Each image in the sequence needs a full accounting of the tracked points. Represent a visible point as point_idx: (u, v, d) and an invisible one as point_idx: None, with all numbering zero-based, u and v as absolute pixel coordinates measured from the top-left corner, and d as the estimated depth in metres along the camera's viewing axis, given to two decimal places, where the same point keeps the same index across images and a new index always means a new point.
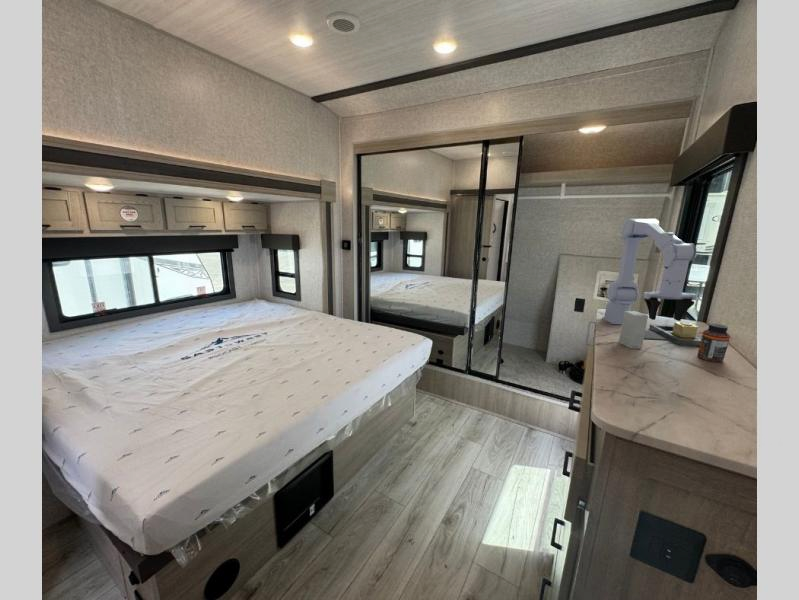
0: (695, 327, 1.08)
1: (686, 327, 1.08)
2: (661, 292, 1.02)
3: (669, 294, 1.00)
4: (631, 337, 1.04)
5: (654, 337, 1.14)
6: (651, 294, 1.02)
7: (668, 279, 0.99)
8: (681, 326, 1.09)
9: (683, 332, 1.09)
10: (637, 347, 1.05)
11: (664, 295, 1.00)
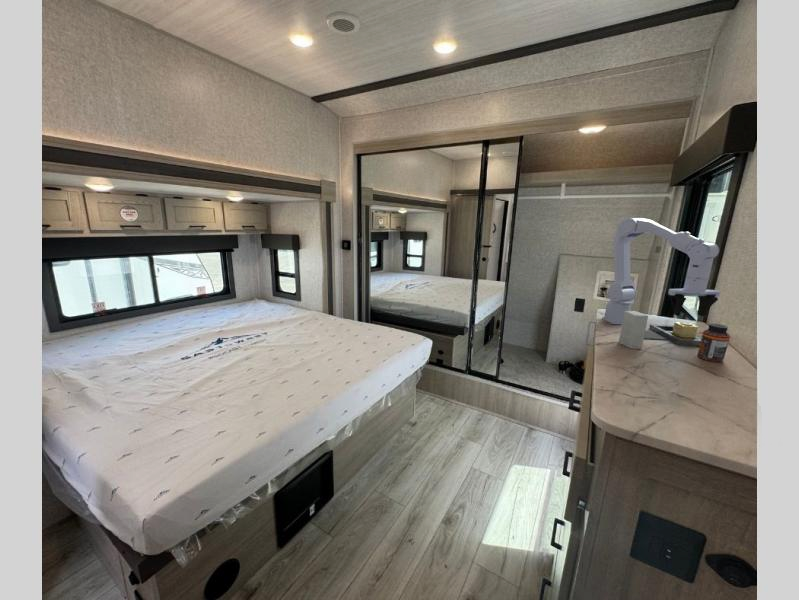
0: (695, 327, 1.08)
1: (686, 327, 1.08)
2: (686, 289, 1.07)
3: (694, 291, 1.05)
4: (631, 337, 1.04)
5: (654, 337, 1.14)
6: (676, 291, 1.07)
7: (699, 277, 1.03)
8: (681, 326, 1.09)
9: (683, 332, 1.09)
10: (637, 347, 1.05)
11: (689, 292, 1.05)
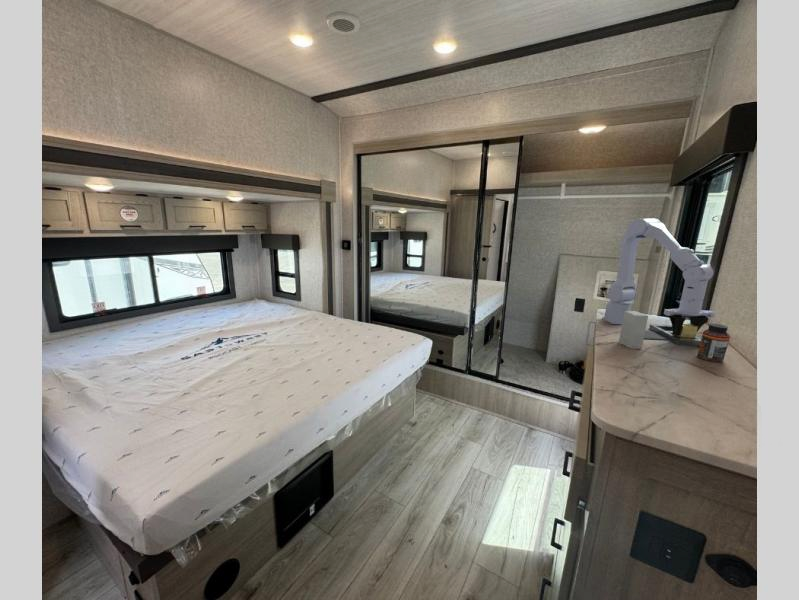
0: (695, 327, 1.08)
1: (686, 327, 1.08)
2: (681, 309, 1.09)
3: (689, 312, 1.07)
4: (631, 337, 1.04)
5: (654, 337, 1.14)
6: (671, 311, 1.09)
7: (693, 298, 1.05)
8: None
9: (683, 331, 1.09)
10: (637, 347, 1.05)
11: (684, 312, 1.07)
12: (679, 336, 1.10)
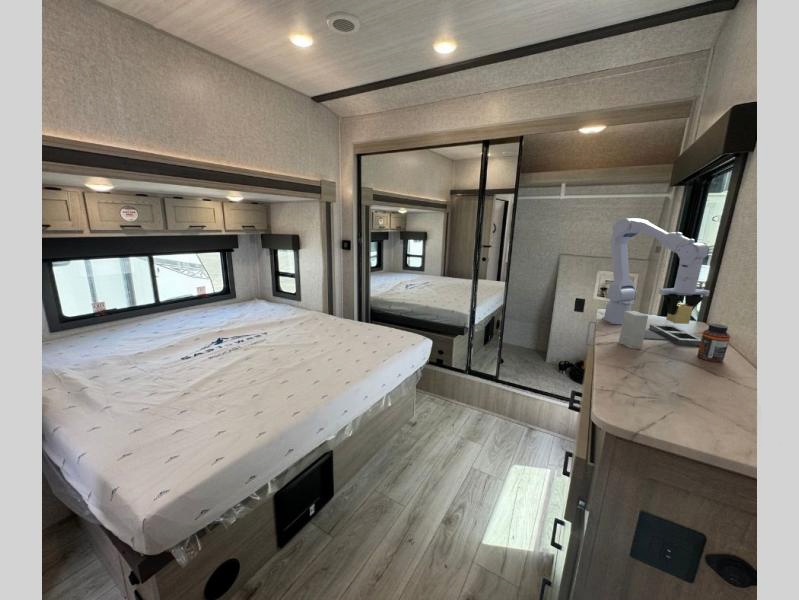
0: (690, 307, 1.07)
1: (681, 307, 1.08)
2: (676, 288, 1.08)
3: (684, 290, 1.06)
4: (631, 337, 1.04)
5: (654, 337, 1.14)
6: (667, 290, 1.08)
7: (688, 277, 1.05)
8: (676, 306, 1.09)
9: (679, 312, 1.08)
10: (637, 347, 1.05)
11: (679, 291, 1.07)
12: (674, 316, 1.09)
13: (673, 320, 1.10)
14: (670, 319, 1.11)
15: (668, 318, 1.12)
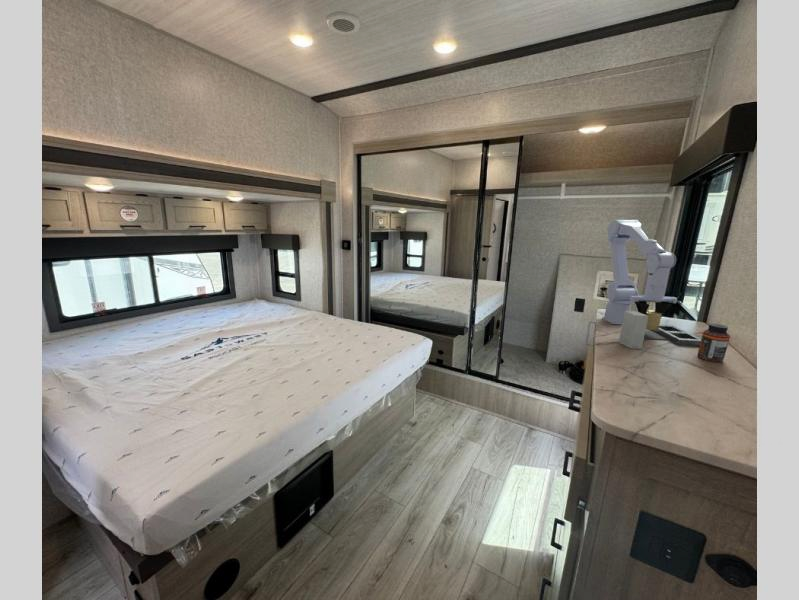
0: (659, 314, 1.12)
1: (650, 314, 1.13)
2: (645, 296, 1.14)
3: (652, 298, 1.12)
4: (631, 337, 1.04)
5: (654, 337, 1.14)
6: (637, 298, 1.14)
7: (653, 284, 1.11)
8: (646, 313, 1.14)
9: (648, 318, 1.13)
10: (637, 347, 1.05)
11: (648, 299, 1.12)
12: None
13: None
14: None
15: None
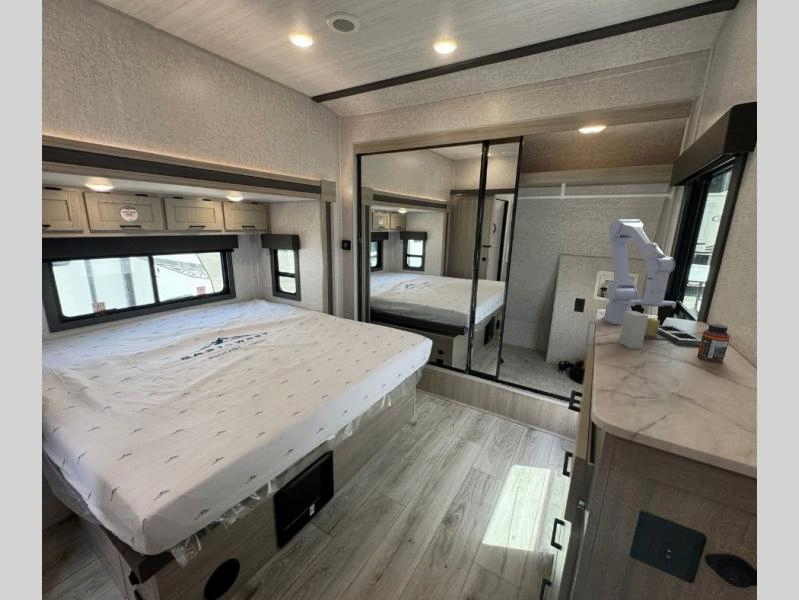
0: (657, 321, 1.13)
1: (649, 321, 1.14)
2: (645, 300, 1.14)
3: (651, 302, 1.12)
4: (631, 337, 1.04)
5: (654, 337, 1.14)
6: (636, 302, 1.14)
7: (652, 289, 1.11)
8: None
9: (646, 325, 1.14)
10: (637, 347, 1.05)
11: (647, 303, 1.13)
12: None
13: None
14: None
15: None
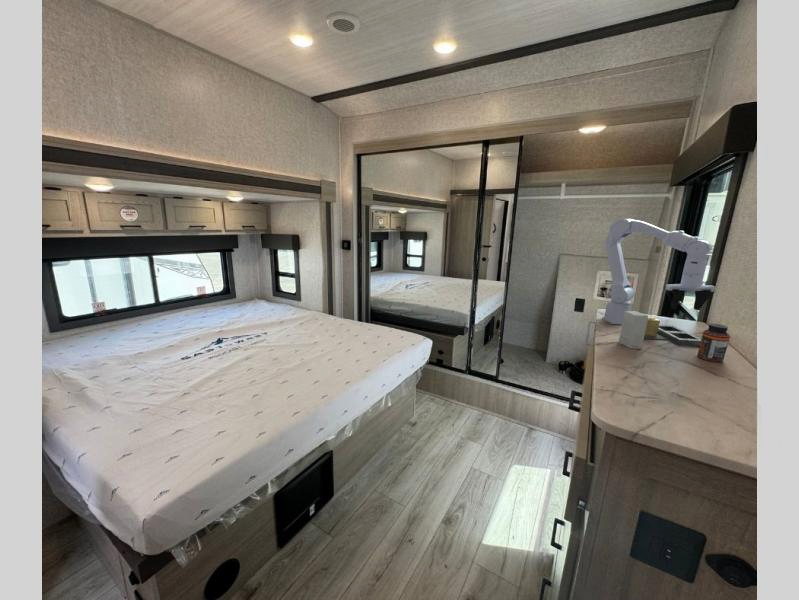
0: (657, 321, 1.13)
1: (649, 321, 1.14)
2: (682, 284, 1.12)
3: (690, 286, 1.10)
4: (631, 337, 1.04)
5: (654, 337, 1.14)
6: (673, 286, 1.12)
7: (697, 273, 1.09)
8: None
9: (646, 325, 1.14)
10: (637, 347, 1.05)
11: (685, 287, 1.11)
12: None
13: None
14: None
15: None
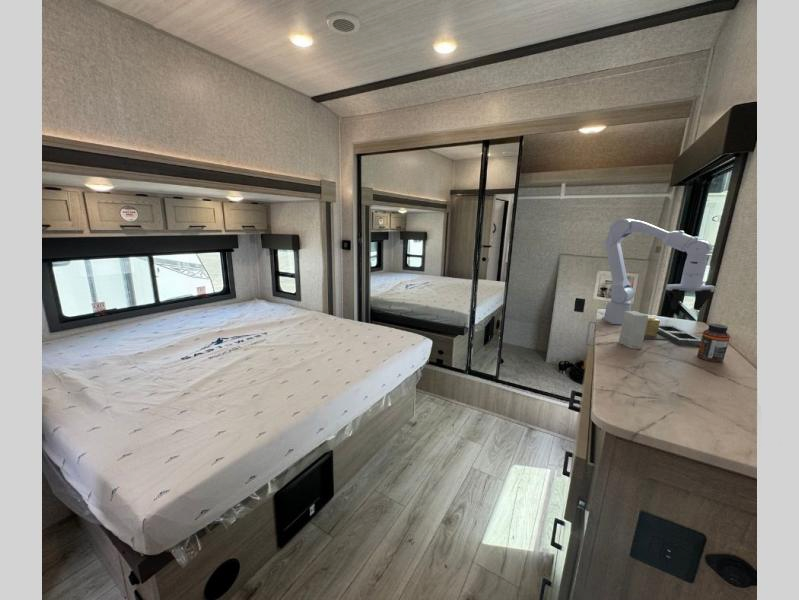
0: (657, 321, 1.13)
1: (649, 321, 1.14)
2: (682, 284, 1.12)
3: (690, 286, 1.10)
4: (631, 337, 1.04)
5: (654, 337, 1.14)
6: (673, 286, 1.12)
7: (697, 273, 1.09)
8: None
9: (646, 325, 1.14)
10: (637, 347, 1.05)
11: (685, 287, 1.11)
12: None
13: None
14: None
15: None
